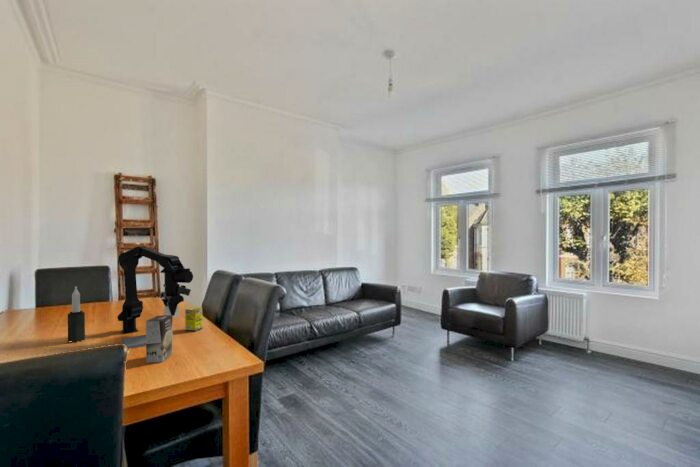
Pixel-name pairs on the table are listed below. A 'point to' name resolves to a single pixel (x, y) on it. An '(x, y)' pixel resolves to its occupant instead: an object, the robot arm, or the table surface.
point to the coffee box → (159, 338)
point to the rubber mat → (134, 341)
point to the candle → (76, 319)
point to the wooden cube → (167, 312)
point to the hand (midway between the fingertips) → (171, 314)
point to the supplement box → (193, 319)
